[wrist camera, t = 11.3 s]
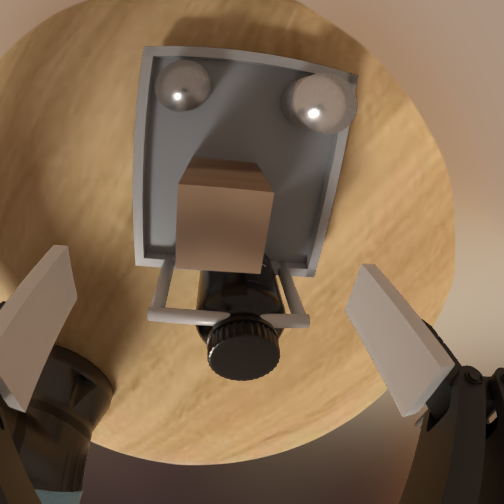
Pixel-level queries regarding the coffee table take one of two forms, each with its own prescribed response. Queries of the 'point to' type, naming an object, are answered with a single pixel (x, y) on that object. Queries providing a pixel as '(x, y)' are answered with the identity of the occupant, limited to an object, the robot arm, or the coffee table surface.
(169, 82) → the silver metal dome
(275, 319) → the grey tray with handle
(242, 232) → the walnut block
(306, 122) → the silver rounded piece
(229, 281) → the supplement bottle
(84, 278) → the coffee table surface
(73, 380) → the robot arm
